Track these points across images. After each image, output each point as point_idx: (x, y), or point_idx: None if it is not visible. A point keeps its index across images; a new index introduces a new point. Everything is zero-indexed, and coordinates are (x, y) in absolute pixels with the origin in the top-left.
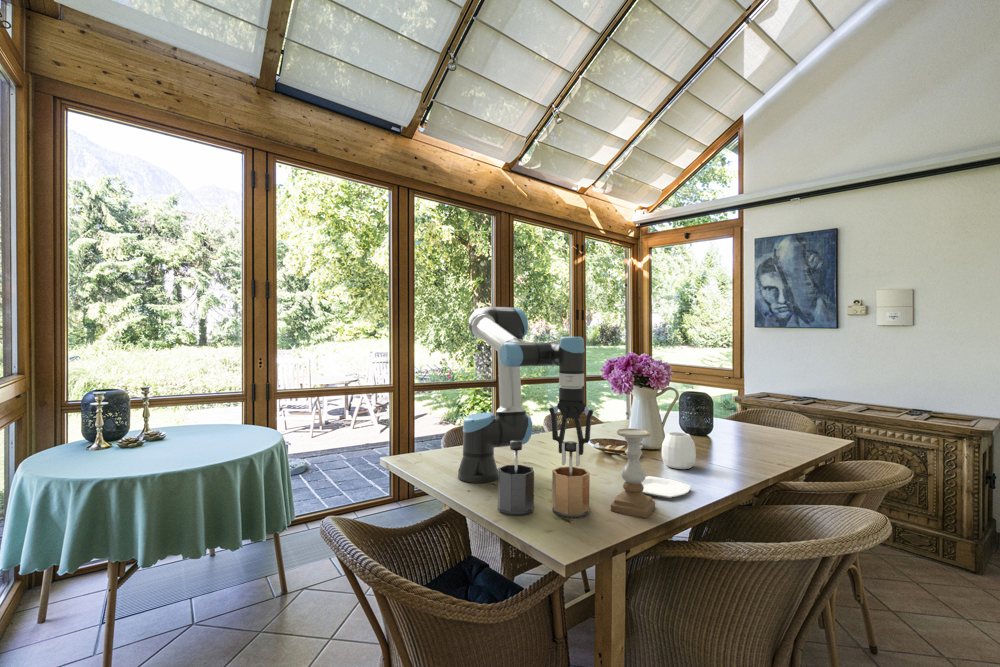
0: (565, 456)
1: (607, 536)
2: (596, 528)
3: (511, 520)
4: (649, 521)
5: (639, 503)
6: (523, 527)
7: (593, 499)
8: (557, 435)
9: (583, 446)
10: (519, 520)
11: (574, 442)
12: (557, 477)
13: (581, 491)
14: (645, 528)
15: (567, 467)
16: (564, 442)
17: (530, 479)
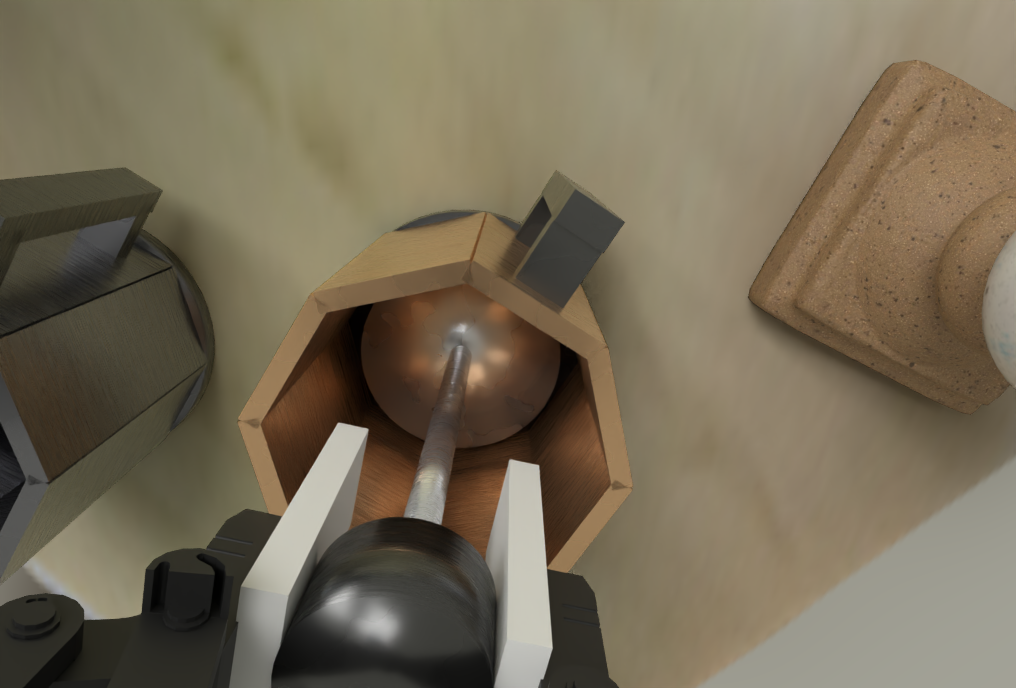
0: (343, 500)
1: (642, 651)
2: (600, 567)
3: (107, 513)
4: (949, 443)
5: (972, 377)
6: None
7: (665, 60)
8: (49, 683)
9: (603, 658)
10: (154, 508)
11: (446, 680)
12: None
13: None
14: (883, 541)
15: (404, 294)
16: (262, 655)
17: (66, 496)
